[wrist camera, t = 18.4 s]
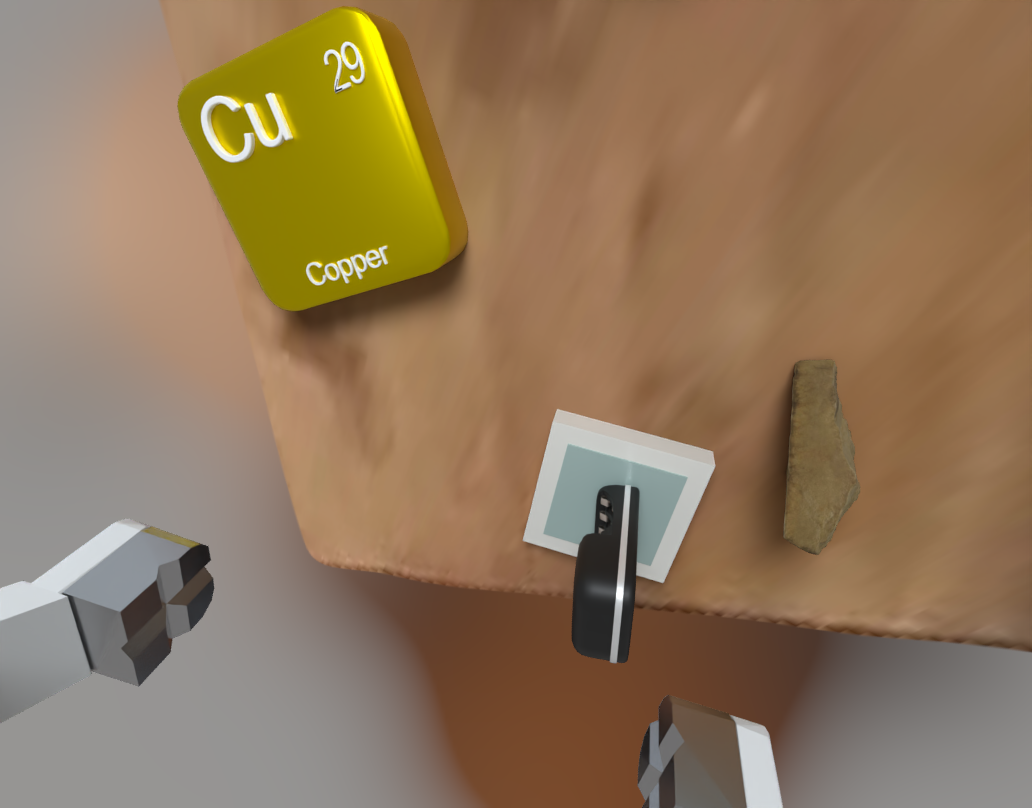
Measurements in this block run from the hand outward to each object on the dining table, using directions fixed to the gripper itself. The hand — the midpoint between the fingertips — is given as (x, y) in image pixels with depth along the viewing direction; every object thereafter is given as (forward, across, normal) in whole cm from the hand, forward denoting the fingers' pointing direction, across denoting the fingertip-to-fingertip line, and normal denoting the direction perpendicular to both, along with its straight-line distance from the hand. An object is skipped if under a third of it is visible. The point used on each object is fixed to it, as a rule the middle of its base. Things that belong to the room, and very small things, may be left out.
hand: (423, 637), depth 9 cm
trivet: (+31, -6, +18) cm, 36 cm away
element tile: (+32, +18, -1) cm, 37 cm away
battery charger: (+29, -6, +19) cm, 35 cm away
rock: (+31, -18, +8) cm, 37 cm away
